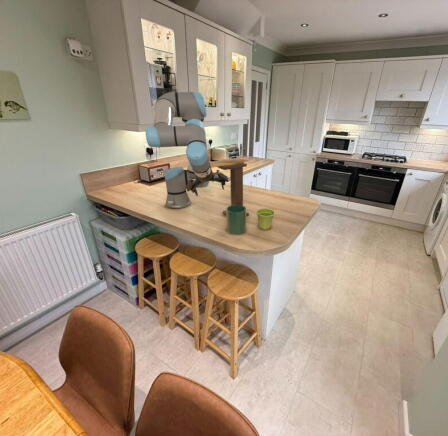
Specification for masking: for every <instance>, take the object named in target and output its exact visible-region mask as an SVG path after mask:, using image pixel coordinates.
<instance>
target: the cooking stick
mask: <svg viewBox="0 0 448 436" xmlns="http://www.w3.org/2000/svg"><path fill="white" fill-rule="evenodd" d="M209 162H210V165H211V169H213V168H218V167H219V166H226V165H232V164H238V163H245V158H244V157H242V156H241V157H235V158H228V159H220V160H214V161H209Z"/></svg>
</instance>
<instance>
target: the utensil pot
mask: <svg viewBox="0 0 448 436" xmlns="http://www.w3.org/2000/svg"><path fill="white" fill-rule="evenodd" d="M246 212H247V208H246V206H244V205H243V206H242V205H231V204H230V205H228V206H227V207H226V213H227V216H226V231H227V233H229V234H231V235H242V234H244V233H245V232H246V231H247V216H246Z"/></svg>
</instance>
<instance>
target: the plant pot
mask: <svg viewBox="0 0 448 436" xmlns="http://www.w3.org/2000/svg"><path fill="white" fill-rule="evenodd" d="M256 215H257V221H258V228H259V229H261V230H269V229H271V228H272V222H273V218H274V216H275V215H276V212H275V210H273V209H271V208H264V207H263V208H259V209H257V210H256Z"/></svg>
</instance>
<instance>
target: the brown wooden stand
mask: <svg viewBox="0 0 448 436" xmlns="http://www.w3.org/2000/svg"><path fill="white" fill-rule="evenodd" d="M247 166H248V164H247V163H246V162H244V163H238V164H232V165H226V166H219V167H217V168H218V169H220V170H223V171H228V170H229V172H230V173H229V174H230V175H229V176H230V181H229V182H230V206H231V205H242V206H244V168H245V167H247ZM222 214H223V215H224V216H226V217H227V213H226V210H223V211H222ZM249 215H250V213H249V212H248V211H246V217H249Z"/></svg>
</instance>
